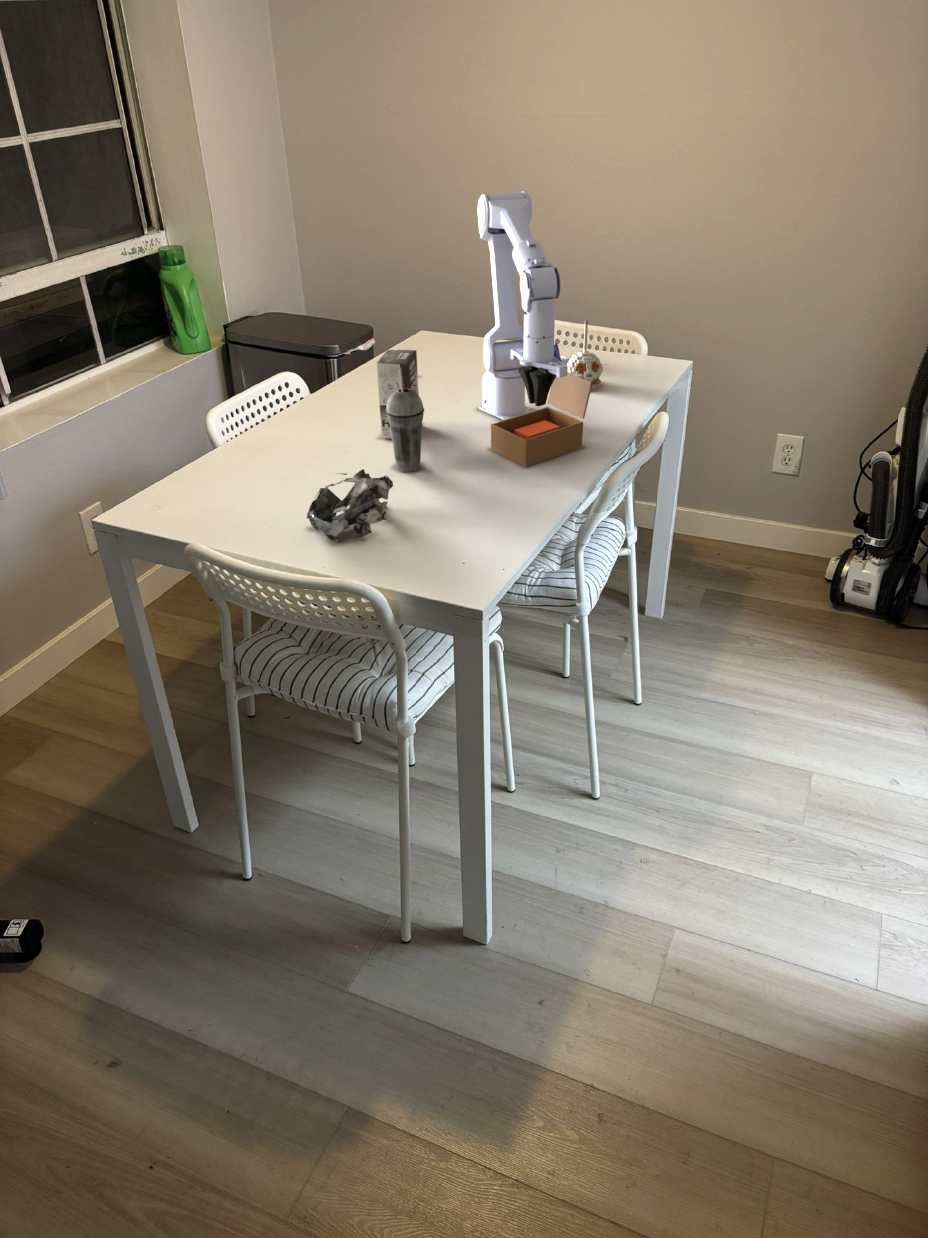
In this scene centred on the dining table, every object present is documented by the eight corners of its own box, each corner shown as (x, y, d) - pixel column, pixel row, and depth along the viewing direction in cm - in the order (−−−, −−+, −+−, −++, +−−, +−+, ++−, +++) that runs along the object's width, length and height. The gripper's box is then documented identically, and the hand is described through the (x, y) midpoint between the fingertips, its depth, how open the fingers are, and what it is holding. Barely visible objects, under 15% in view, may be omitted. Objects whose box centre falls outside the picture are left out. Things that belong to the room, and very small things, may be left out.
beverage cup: (432, 461, 187) (428, 361, 176) (418, 476, 181) (413, 374, 170) (398, 457, 189) (391, 358, 178) (383, 472, 184) (376, 370, 172)
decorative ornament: (572, 392, 217) (575, 326, 209) (562, 381, 224) (564, 317, 216) (604, 389, 219) (608, 323, 211) (593, 378, 225) (597, 314, 217)
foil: (298, 497, 167) (365, 447, 165) (336, 541, 173) (402, 493, 170) (298, 525, 157) (370, 472, 155) (339, 570, 163) (410, 520, 160)
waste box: (546, 431, 199) (547, 406, 196) (582, 447, 191) (583, 421, 188) (491, 449, 192) (490, 424, 189) (525, 466, 184) (525, 440, 181)
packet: (514, 448, 191) (514, 429, 189) (544, 438, 195) (545, 419, 192) (528, 455, 188) (528, 436, 186) (559, 445, 192) (559, 426, 189)
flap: (547, 403, 195) (548, 403, 196) (582, 418, 188) (584, 418, 188) (555, 368, 192) (556, 368, 193) (591, 381, 185) (593, 382, 185)
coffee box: (411, 440, 196) (406, 363, 187) (380, 438, 197) (375, 362, 189) (421, 423, 204) (417, 349, 195) (392, 422, 205) (387, 347, 196)
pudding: (576, 370, 230) (577, 348, 228) (528, 374, 228) (528, 352, 226) (561, 354, 240) (562, 334, 237) (515, 359, 238) (515, 338, 235)
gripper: (498, 329, 182) (498, 398, 189) (548, 347, 172) (546, 419, 179) (526, 322, 185) (525, 390, 193) (577, 339, 175) (574, 410, 183)
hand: (537, 403), depth 186 cm, fingers closed
